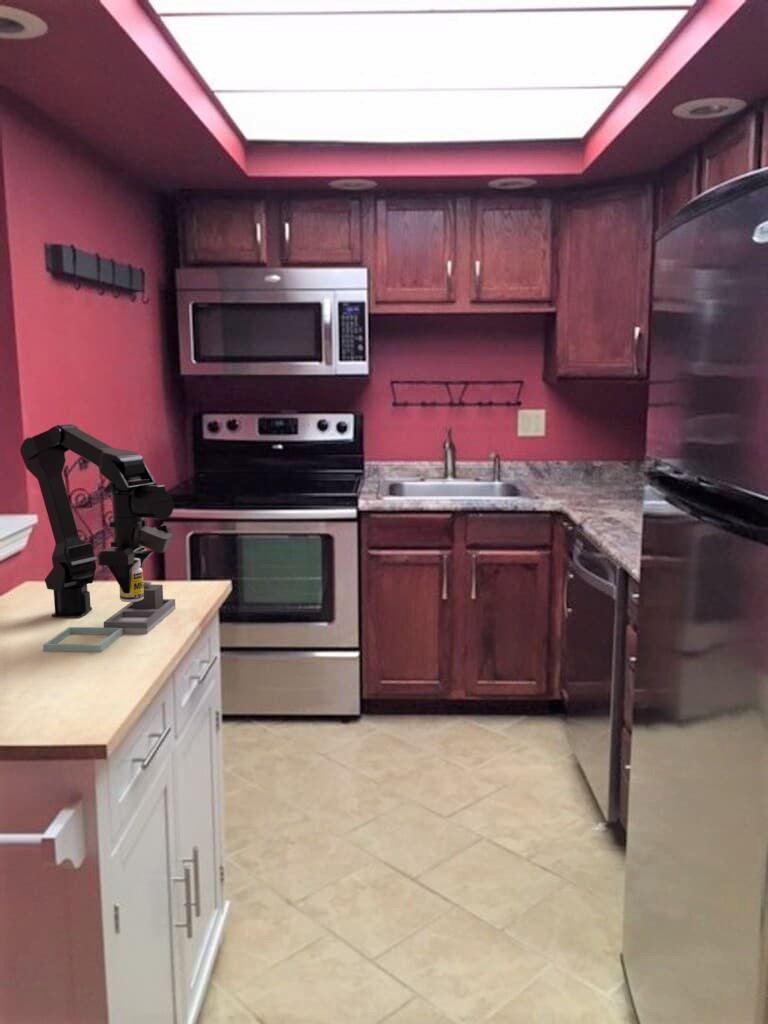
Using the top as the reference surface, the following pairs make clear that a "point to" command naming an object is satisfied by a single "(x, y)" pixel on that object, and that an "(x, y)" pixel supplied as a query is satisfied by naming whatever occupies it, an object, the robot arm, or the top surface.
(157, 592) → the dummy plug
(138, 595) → the supplement bottle
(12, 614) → the top surface
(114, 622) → the grey socket tray
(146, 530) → the robot arm
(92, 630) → the green square frame
